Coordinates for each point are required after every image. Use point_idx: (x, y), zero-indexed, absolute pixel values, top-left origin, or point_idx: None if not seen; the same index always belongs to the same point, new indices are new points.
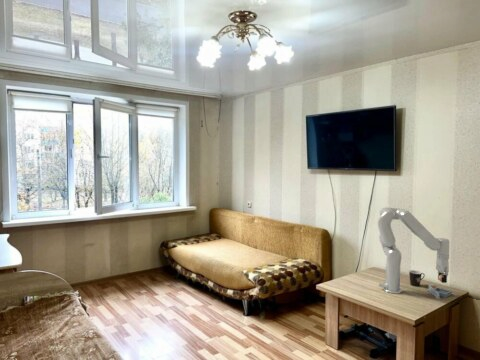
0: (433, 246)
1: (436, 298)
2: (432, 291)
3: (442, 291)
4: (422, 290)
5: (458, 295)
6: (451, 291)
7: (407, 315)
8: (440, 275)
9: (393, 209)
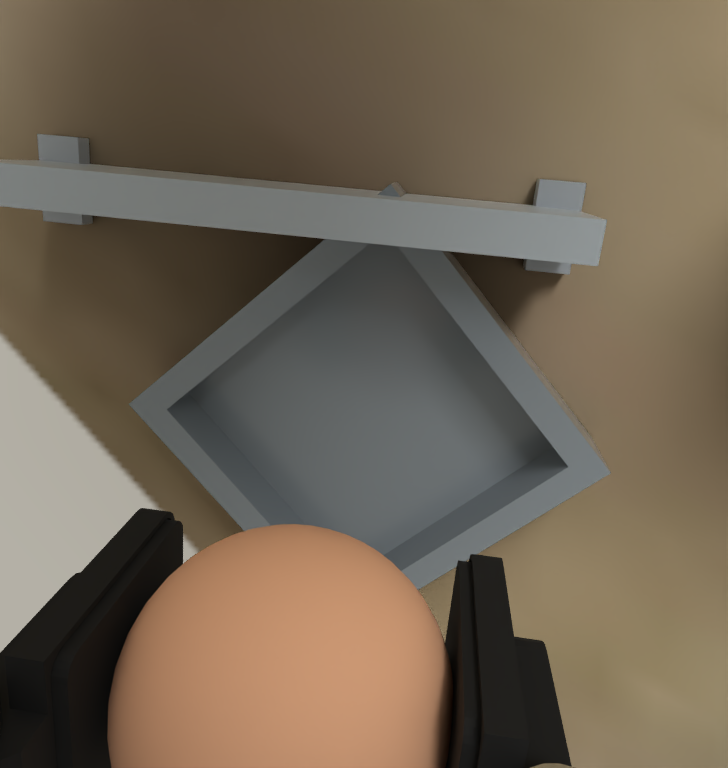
0: None
1: (55, 136)
2: (331, 190)
3: (456, 489)
4: (613, 41)
5: None
6: None
7: None
8: (234, 722)
9: None
